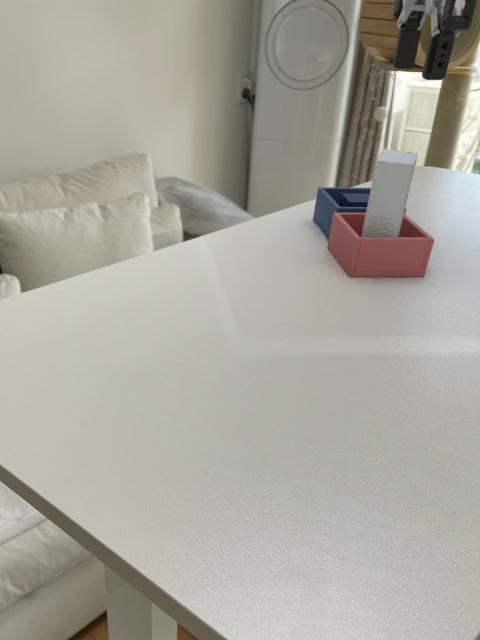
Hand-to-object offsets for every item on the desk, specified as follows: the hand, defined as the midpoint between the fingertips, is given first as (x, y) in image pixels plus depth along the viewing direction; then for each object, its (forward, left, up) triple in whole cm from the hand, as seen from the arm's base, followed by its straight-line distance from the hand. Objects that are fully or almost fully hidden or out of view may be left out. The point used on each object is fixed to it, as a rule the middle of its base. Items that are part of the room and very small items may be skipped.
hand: (416, 73), depth 69 cm
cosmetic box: (0, 0, -20) cm, 20 cm away
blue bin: (-1, -11, -21) cm, 24 cm away
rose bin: (0, 0, -21) cm, 21 cm away
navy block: (-1, -11, -20) cm, 23 cm away
